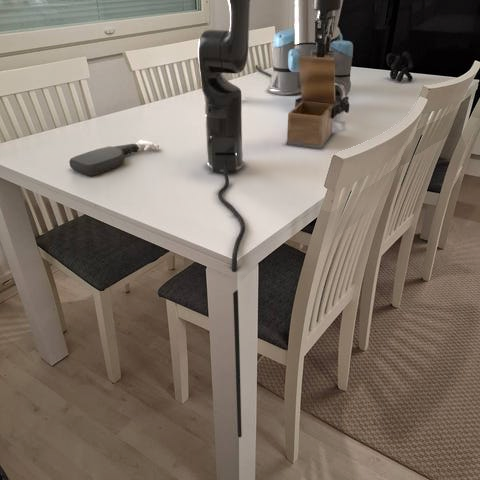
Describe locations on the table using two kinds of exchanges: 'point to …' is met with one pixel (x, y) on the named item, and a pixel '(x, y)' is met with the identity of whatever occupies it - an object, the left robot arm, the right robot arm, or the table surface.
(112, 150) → the spray bottle
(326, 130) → the chest
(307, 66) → the wooden door panel
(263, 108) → the table surface
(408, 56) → the squiggle
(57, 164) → the table surface
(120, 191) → the table surface
